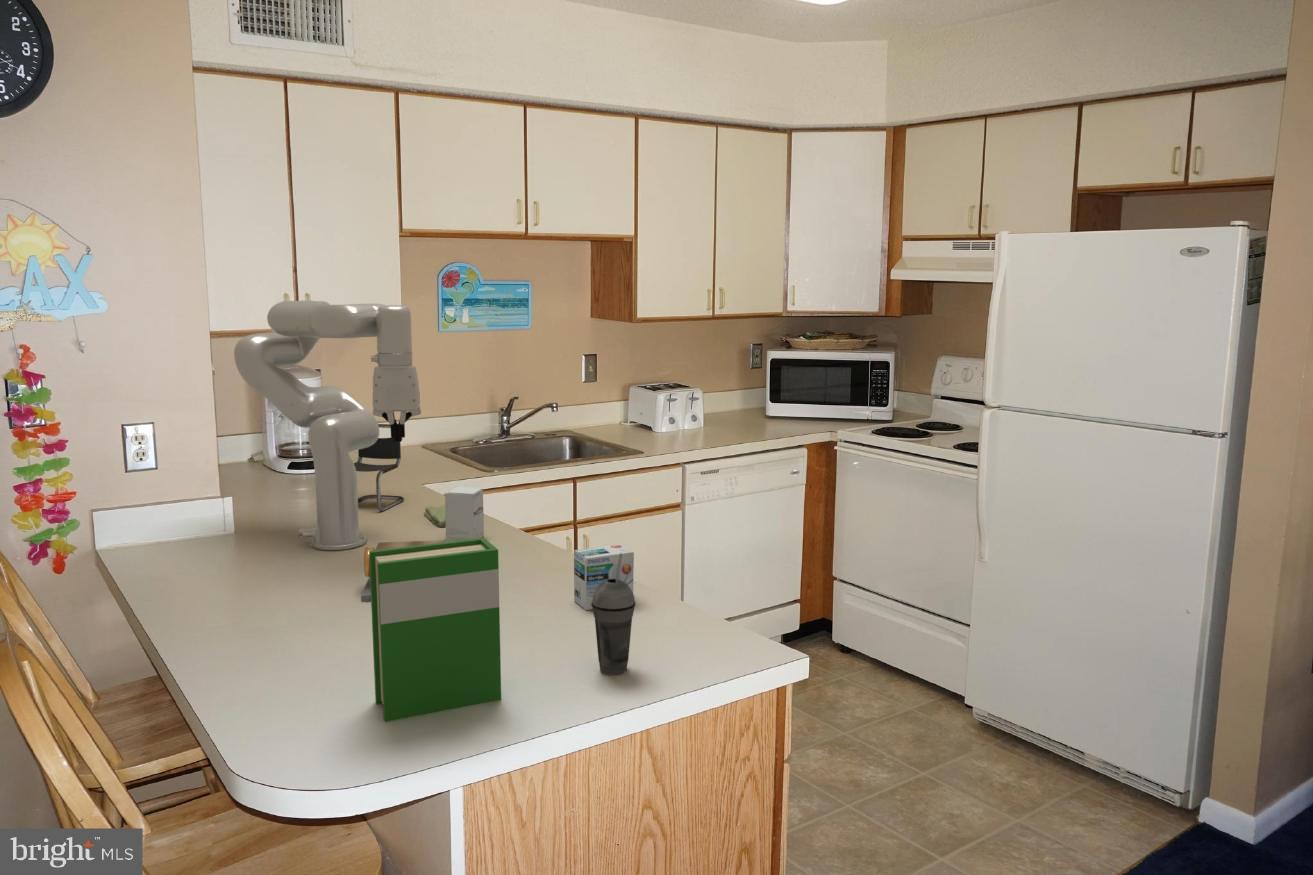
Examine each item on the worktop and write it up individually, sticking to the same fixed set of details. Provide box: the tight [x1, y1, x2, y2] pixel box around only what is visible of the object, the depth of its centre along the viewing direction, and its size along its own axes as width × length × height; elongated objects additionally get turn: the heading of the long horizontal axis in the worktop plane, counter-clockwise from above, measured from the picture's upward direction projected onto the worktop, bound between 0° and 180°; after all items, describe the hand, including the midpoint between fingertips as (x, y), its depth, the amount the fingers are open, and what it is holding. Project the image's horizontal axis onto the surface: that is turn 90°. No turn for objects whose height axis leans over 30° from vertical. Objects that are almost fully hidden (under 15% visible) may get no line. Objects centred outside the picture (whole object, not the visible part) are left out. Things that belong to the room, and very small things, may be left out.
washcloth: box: [423, 504, 446, 528], centre depth 261 cm, size 13×18×3 cm
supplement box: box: [444, 486, 485, 542], centre depth 239 cm, size 7×7×13 cm
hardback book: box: [369, 537, 502, 723], centre depth 148 cm, size 18×7×24 cm, turn 116°
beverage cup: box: [591, 553, 636, 676], centre depth 160 cm, size 7×7×20 cm
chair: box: [353, 423, 404, 512], centre depth 273 cm, size 13×17×22 cm
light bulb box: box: [573, 543, 635, 611], centre depth 194 cm, size 11×7×11 cm, turn 118°
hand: (398, 440), depth 222 cm, fingers closed
